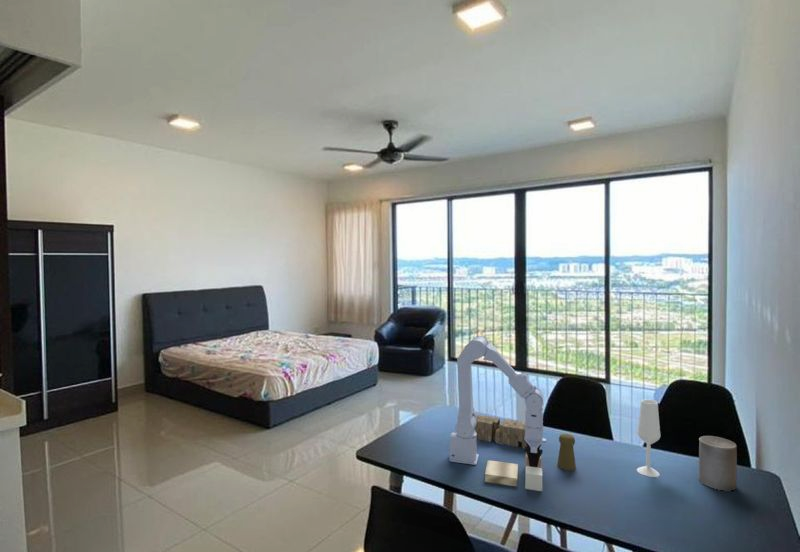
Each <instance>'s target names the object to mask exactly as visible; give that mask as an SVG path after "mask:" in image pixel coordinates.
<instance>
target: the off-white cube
mask: <svg viewBox="0 0 800 552" xmlns="http://www.w3.org/2000/svg"><path fill="white" fill-rule="evenodd" d="M524 476H525V482H524V483H525V486H524V487H525V488H524V489H525V490H531V491H537V492H538V491H539V492H543V468H542V467H541V468H537V467H530V466H526V465H525V475H524Z"/></svg>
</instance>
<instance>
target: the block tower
mask: <svg viewBox="0 0 800 552" xmlns="http://www.w3.org/2000/svg"><path fill="white" fill-rule="evenodd" d="M475 416H476V418H477V425H476V427H475V428H474V429H475V431H476V433H477V439H480V440H479V441H483V440H485V441H484V442H488V441H490V442H489V443H492V442H493V441H494V443H495V442H496V444H499V443H502V444H501V445H504V444H508V445H507V446H510V445H512V446H511V447H514V446H516V447H515V448H518V447H519V446H520V444H519V443H521V448H522V449H525V447H527V444H526V442H525V440H524V437H525V421H518V420H511V419H508V418H507V419H506V418H503V419H502V421H501V418H500V417H497V416H496V417H495V416H489V415H481V414H476V413H475ZM493 439H495V440H493ZM491 441H492V442H491Z"/></svg>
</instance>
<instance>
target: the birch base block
mask: <svg viewBox="0 0 800 552" xmlns="http://www.w3.org/2000/svg"><path fill="white" fill-rule="evenodd" d="M486 463H487V464H486V467H485V472H484V482H485V483H490V484H496V485H497V484H498V485H502V486H503V485H504V486H510V487H518V478H519V477H518V476H519V475H518V474H519V464H518V463H512V462H503V461H496V460H489V459H488V460H487V462H486Z"/></svg>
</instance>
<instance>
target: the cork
mask: <svg viewBox="0 0 800 552" xmlns="http://www.w3.org/2000/svg"><path fill="white" fill-rule="evenodd" d="M558 442H559V443H560V445H559V450H558V451H559V452H558V458H557V467H558V468H559V469H561V470H564V471H568V472H569V471H572V472H573V471H575V470H576V469H577V467H576V465H577V464H576V457H575V450H574V446H575V444H576V439H575V436H573V435H572V434H569V433H561V434H560V435H559V436H558Z"/></svg>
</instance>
